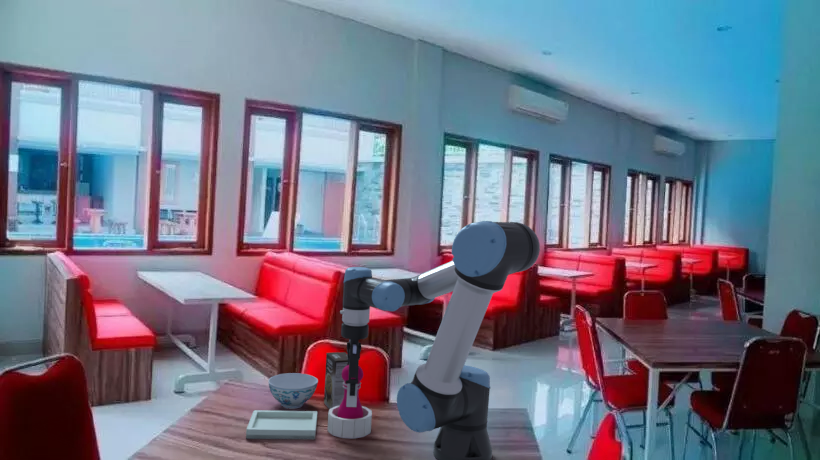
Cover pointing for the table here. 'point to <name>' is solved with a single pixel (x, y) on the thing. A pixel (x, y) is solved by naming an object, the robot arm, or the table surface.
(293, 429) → the tray
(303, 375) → the chinaware
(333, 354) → the coffee box
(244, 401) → the table surface
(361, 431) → the cup
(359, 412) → the pepper mill
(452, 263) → the robot arm
